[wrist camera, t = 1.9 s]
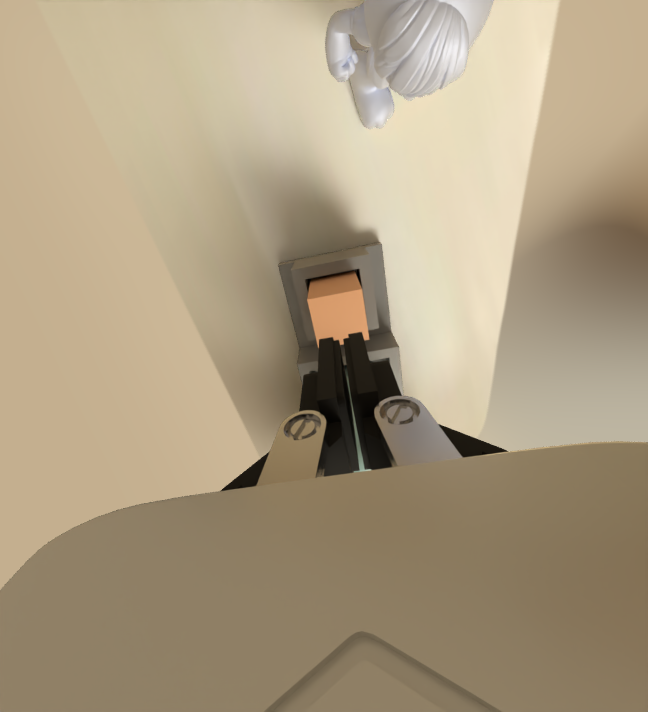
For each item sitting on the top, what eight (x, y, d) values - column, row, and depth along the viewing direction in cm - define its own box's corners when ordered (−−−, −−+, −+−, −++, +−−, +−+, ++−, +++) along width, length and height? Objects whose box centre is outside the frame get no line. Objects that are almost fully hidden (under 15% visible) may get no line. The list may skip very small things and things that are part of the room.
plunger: (360, 312, 23) (369, 339, 19) (319, 320, 24) (318, 348, 19) (354, 270, 22) (362, 288, 18) (310, 279, 22) (307, 299, 18)
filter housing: (397, 400, 31) (406, 427, 27) (318, 413, 31) (317, 440, 28) (379, 242, 24) (389, 250, 20) (279, 263, 25) (272, 273, 21)
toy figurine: (363, 158, 22) (402, 119, 11) (309, 57, 19) (291, -121, 8) (456, 86, 20) (612, -47, 9) (410, -35, 17) (547, -412, 7)
